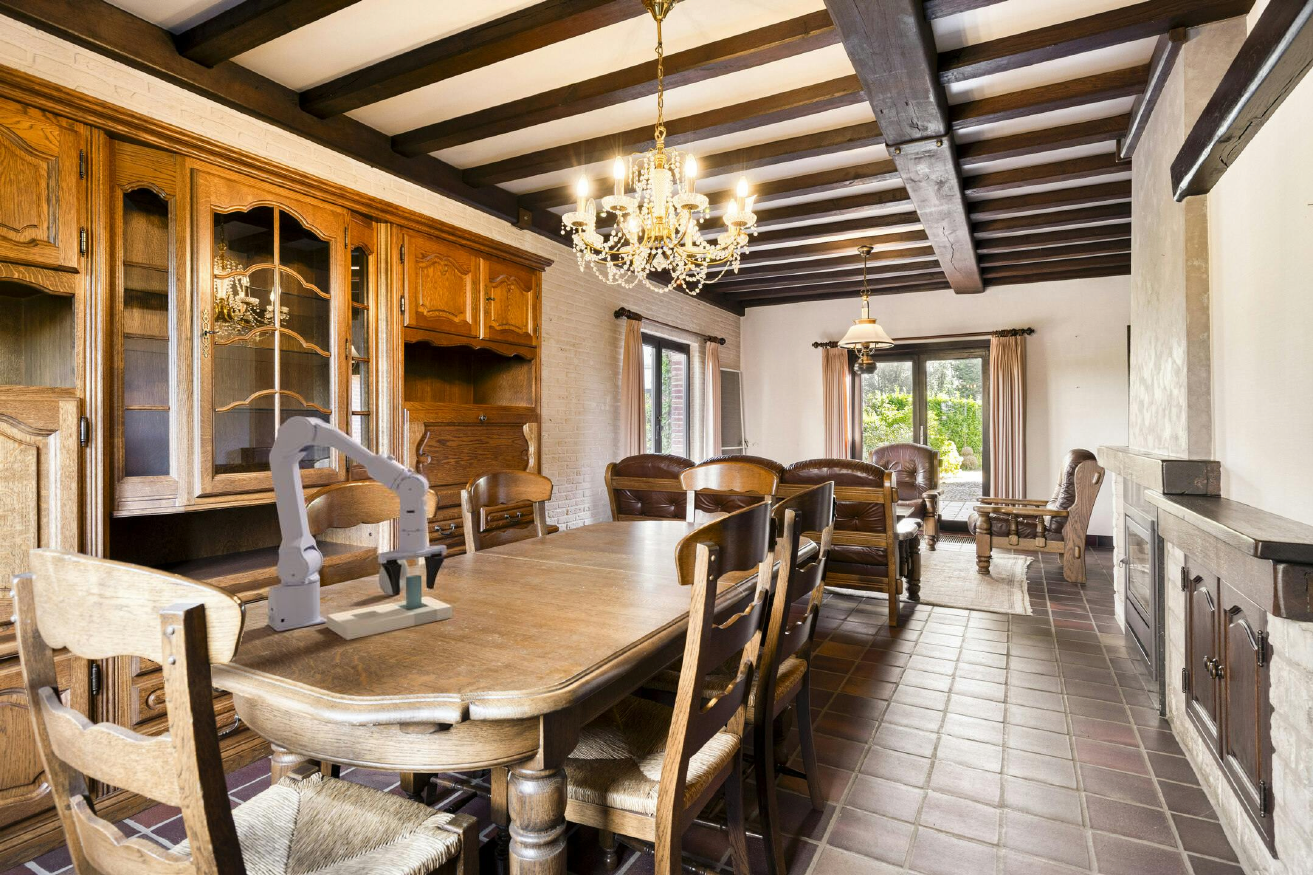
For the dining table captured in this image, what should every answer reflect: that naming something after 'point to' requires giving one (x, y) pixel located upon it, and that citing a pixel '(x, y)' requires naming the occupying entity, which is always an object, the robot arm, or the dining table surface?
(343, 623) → the peg board
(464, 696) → the dining table surface
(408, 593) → the peg
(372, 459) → the robot arm
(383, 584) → the donut
